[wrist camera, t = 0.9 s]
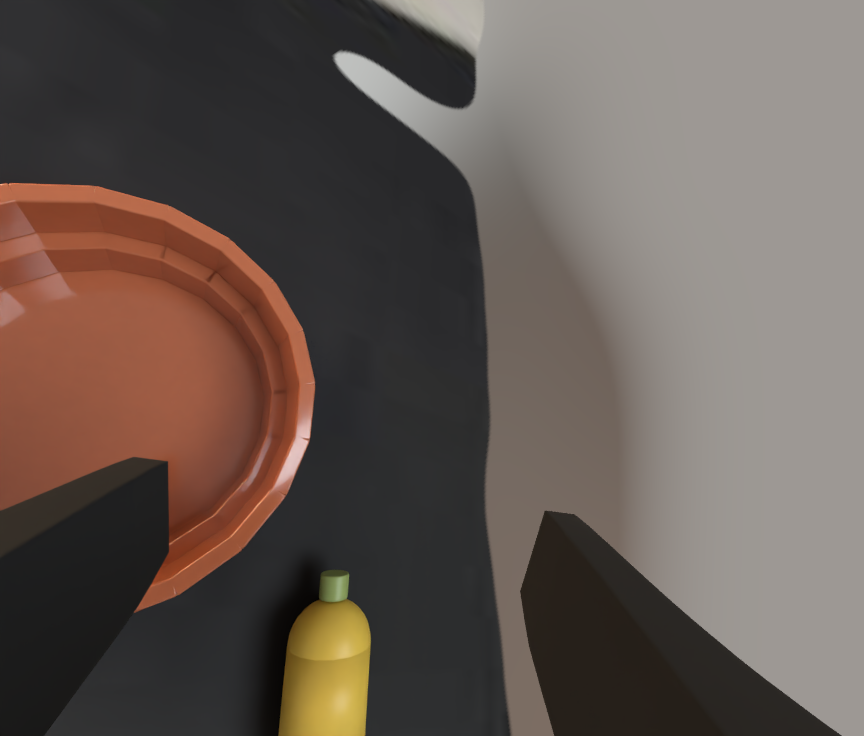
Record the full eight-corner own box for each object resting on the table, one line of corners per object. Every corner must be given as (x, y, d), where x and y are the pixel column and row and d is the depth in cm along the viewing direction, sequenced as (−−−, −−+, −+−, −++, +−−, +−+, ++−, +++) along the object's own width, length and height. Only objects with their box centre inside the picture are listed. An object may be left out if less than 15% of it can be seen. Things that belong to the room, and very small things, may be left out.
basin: (269, 570, 19) (295, 605, 15) (-198, 608, 13) (-387, 686, 9) (300, 287, 22) (329, 248, 18) (-74, 206, 16) (-170, 113, 11)
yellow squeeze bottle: (345, 754, 19) (374, 807, 17) (265, 777, 18) (281, 841, 15) (358, 561, 21) (387, 578, 18) (286, 567, 20) (304, 587, 17)
